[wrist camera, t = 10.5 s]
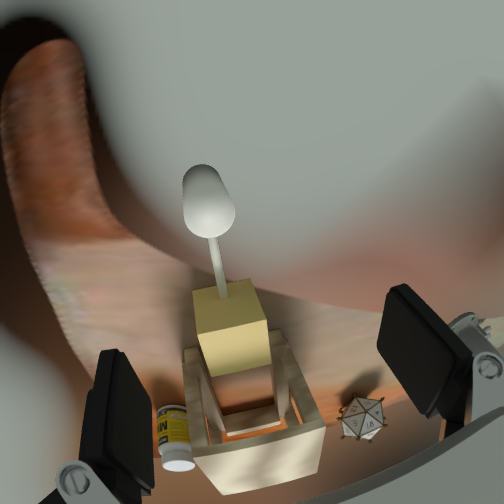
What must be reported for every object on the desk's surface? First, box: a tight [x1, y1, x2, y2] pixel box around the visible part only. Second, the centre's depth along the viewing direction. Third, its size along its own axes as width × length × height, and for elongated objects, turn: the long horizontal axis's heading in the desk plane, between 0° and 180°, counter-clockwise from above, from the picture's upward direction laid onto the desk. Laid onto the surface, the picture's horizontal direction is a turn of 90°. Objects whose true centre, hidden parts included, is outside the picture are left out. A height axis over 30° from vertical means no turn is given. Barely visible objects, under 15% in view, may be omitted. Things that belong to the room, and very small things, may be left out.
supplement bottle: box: [157, 405, 195, 471], centre depth 33 cm, size 5×5×8 cm
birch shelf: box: [182, 328, 326, 495], centre depth 31 cm, size 12×16×12 cm
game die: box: [336, 392, 388, 444], centre depth 42 cm, size 9×8×10 cm
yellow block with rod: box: [183, 164, 272, 377], centre depth 24 cm, size 6×17×7 cm, turn 7°
